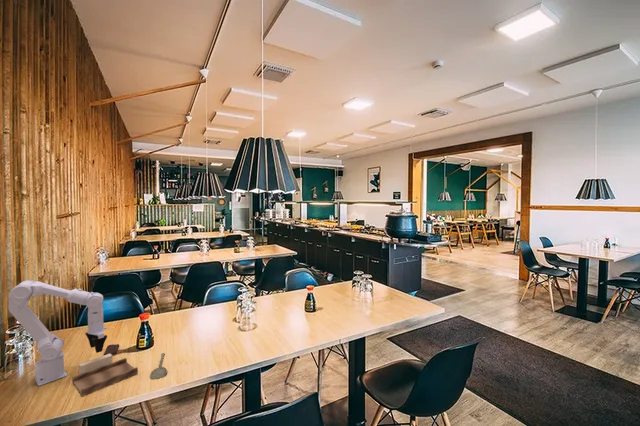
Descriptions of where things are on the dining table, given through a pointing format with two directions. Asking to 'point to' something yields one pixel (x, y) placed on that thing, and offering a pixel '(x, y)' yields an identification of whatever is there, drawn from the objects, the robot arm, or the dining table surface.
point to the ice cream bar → (111, 349)
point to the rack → (103, 376)
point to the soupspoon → (159, 371)
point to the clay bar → (95, 363)
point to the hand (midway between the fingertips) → (96, 349)
